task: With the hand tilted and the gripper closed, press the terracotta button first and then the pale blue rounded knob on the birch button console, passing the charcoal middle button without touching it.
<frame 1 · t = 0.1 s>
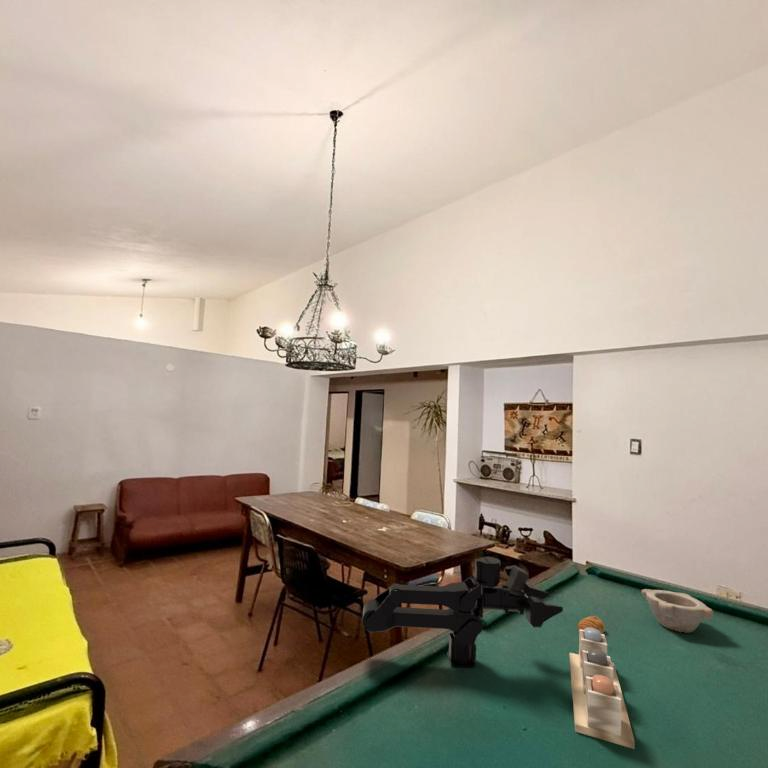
hand: (555, 601, 116), 17 cm above the table, tool horizontal, fingers open, 9 cm apart
pale blue rounded knob: (592, 639, 114), point 8 cm above the table, slide at 0.0 cm
button console: (596, 696, 102), on the table
mortar: (675, 626, 142), on the table
charcoal button: (597, 662, 103), point 8 cm above the table, slide at 0.0 cm
pastry: (591, 632, 135), on the table
terracotta button: (602, 691, 92), point 8 cm above the table, slide at 0.0 cm
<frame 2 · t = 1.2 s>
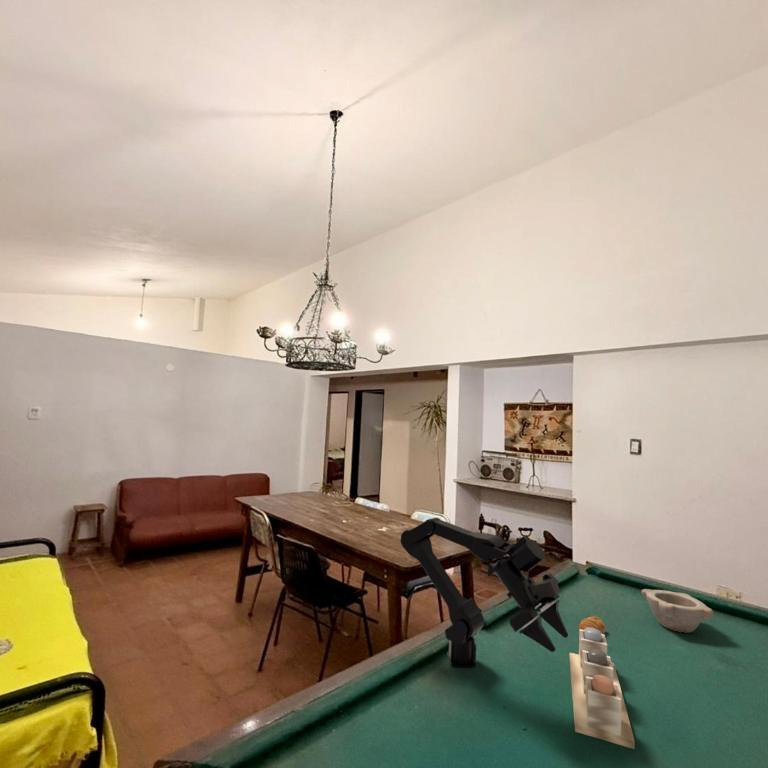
hand: (560, 643, 99), 14 cm above the table, tool tilted 45°, fingers open, 9 cm apart
nothing on the table moved.
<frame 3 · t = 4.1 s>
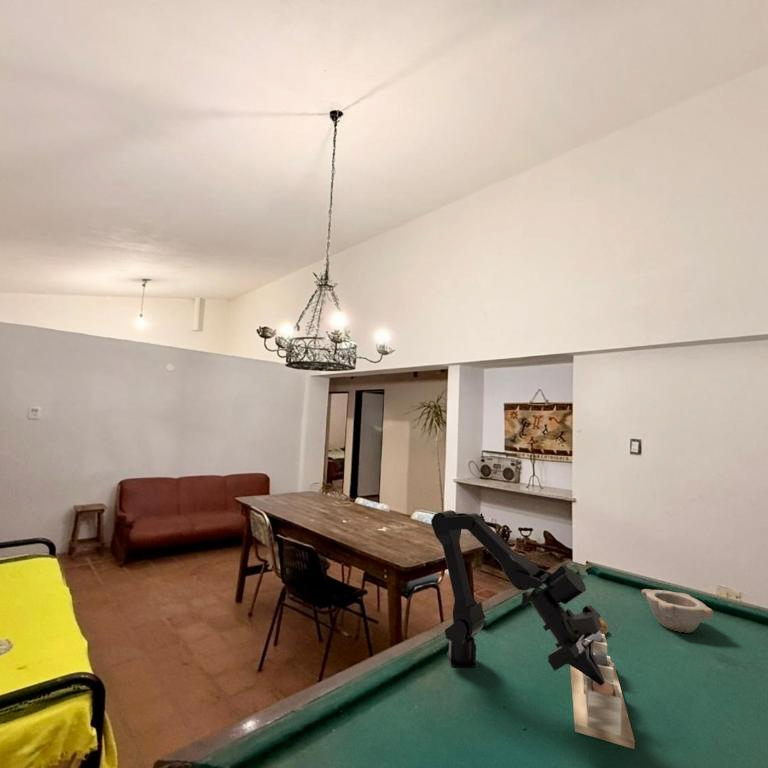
hand: (602, 683, 92), 9 cm above the table, tool tilted 45°, fingers closed, pressing on terracotta button
terracotta button: (602, 696, 92), point 7 cm above the table, slide at 1.0 cm, touching gripper
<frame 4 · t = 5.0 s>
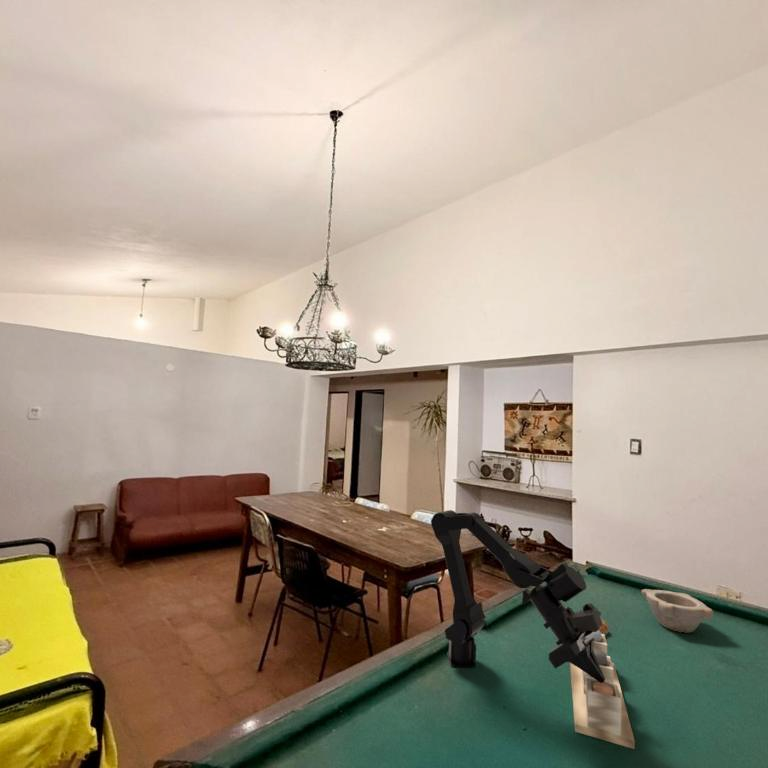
hand: (603, 681, 92), 10 cm above the table, tool tilted 45°, fingers closed
terracotta button: (602, 698, 92), point 6 cm above the table, slide at 1.6 cm
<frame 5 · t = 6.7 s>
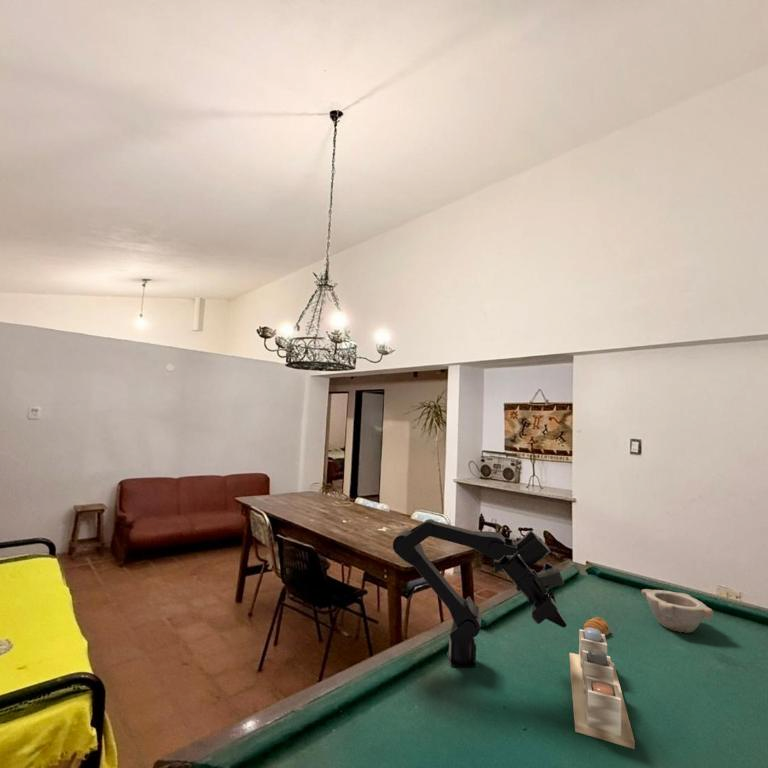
hand: (565, 626, 108), 14 cm above the table, tool tilted 45°, fingers closed
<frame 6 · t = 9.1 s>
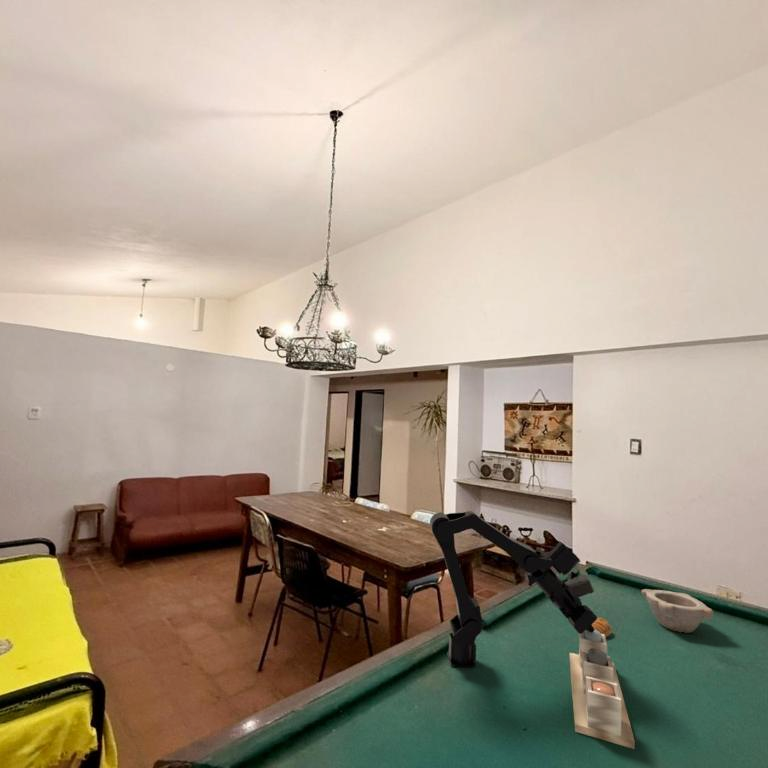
hand: (592, 630, 114), 10 cm above the table, tool tilted 45°, fingers closed, pressing on pale blue rounded knob
pale blue rounded knob: (592, 640, 114), point 7 cm above the table, slide at 0.3 cm, touching gripper
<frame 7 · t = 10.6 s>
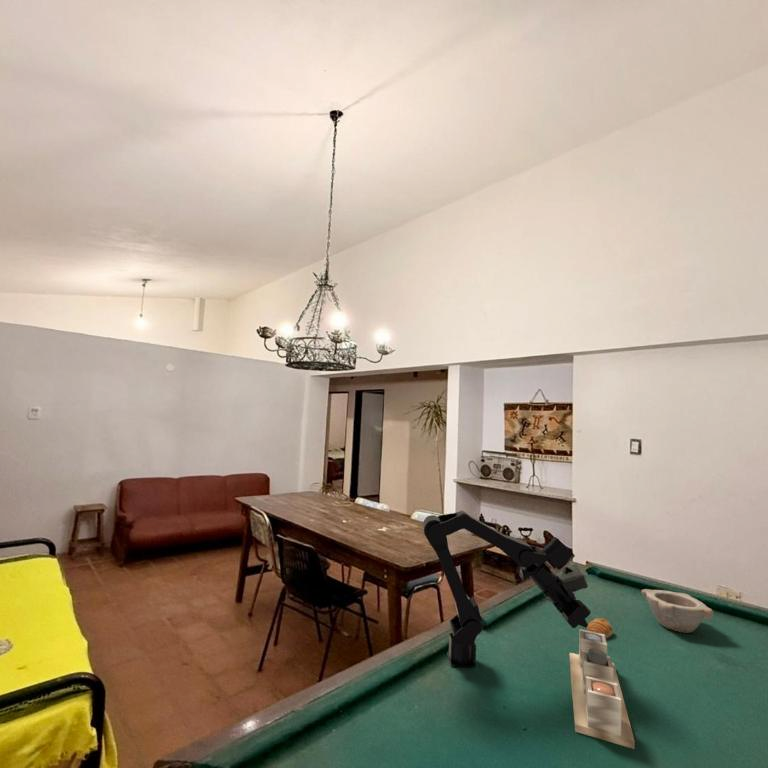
hand: (586, 626, 114), 11 cm above the table, tool tilted 45°, fingers closed
pale blue rounded knob: (592, 645, 114), point 6 cm above the table, slide at 1.6 cm
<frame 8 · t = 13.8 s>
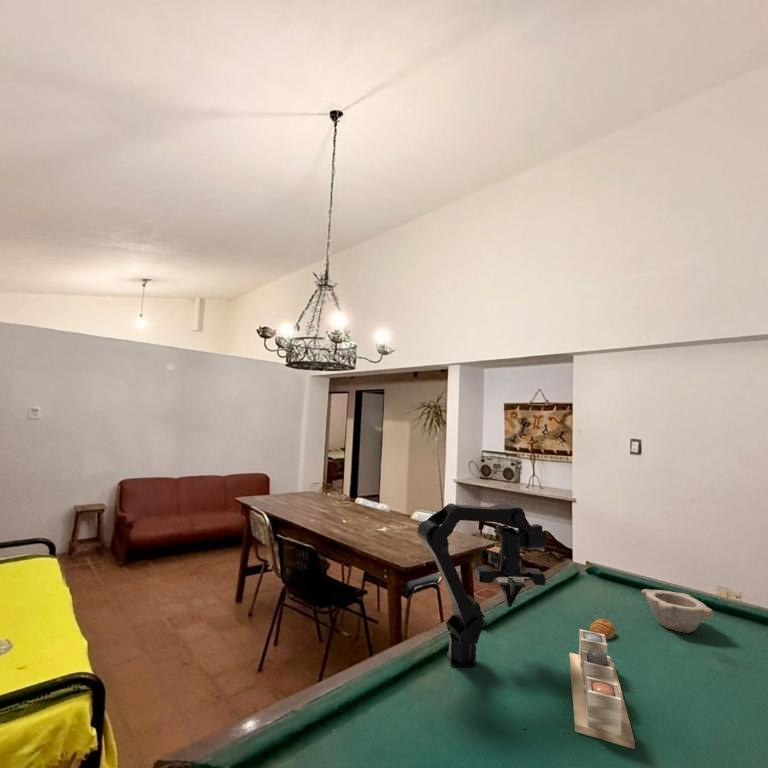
hand: (509, 606, 120), 13 cm above the table, tool pointing down, fingers closed
at the end: terracotta button slide at 1.6 cm; pale blue rounded knob slide at 1.6 cm; charcoal button slide at 0.0 cm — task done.
